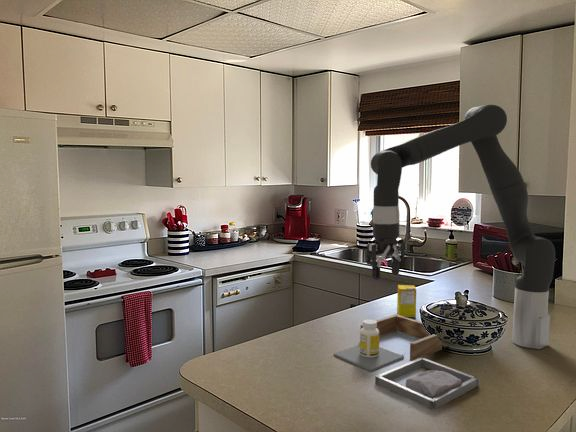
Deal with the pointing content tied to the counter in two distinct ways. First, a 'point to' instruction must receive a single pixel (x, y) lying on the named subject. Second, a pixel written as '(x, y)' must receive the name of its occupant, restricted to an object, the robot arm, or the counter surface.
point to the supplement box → (406, 301)
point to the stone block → (432, 383)
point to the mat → (368, 363)
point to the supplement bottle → (369, 339)
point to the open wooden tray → (414, 328)
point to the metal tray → (421, 399)
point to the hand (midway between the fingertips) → (386, 276)
